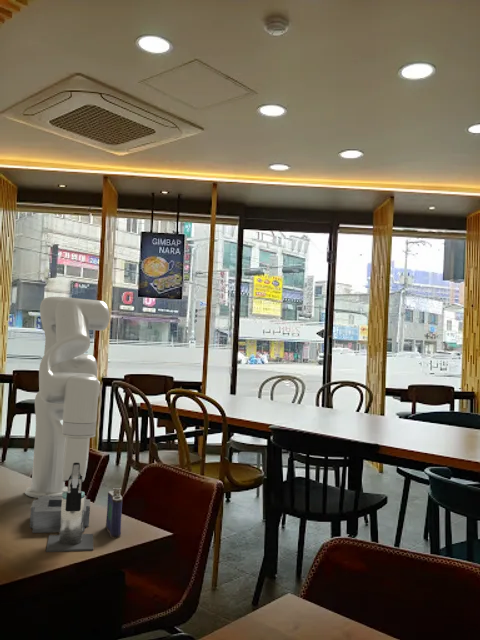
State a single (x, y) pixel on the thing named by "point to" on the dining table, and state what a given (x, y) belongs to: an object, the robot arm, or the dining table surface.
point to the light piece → (71, 523)
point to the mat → (82, 546)
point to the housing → (52, 514)
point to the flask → (114, 513)
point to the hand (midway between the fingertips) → (73, 504)
